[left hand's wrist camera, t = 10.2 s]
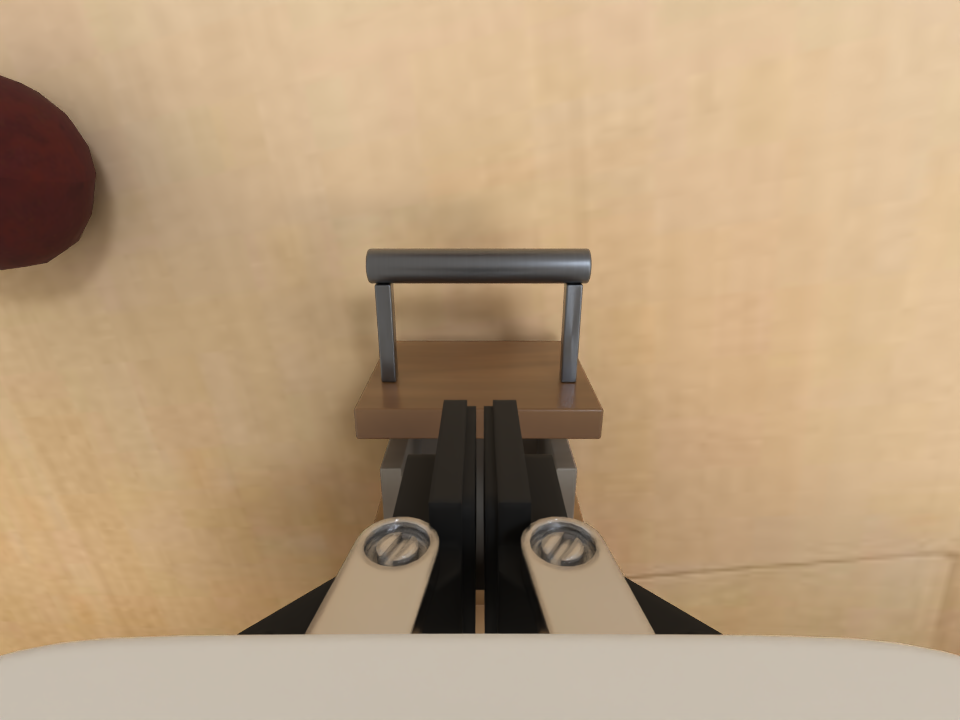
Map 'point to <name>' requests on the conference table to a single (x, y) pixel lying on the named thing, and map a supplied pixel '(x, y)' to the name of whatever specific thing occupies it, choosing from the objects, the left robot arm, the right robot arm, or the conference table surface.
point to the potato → (40, 178)
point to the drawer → (478, 368)
